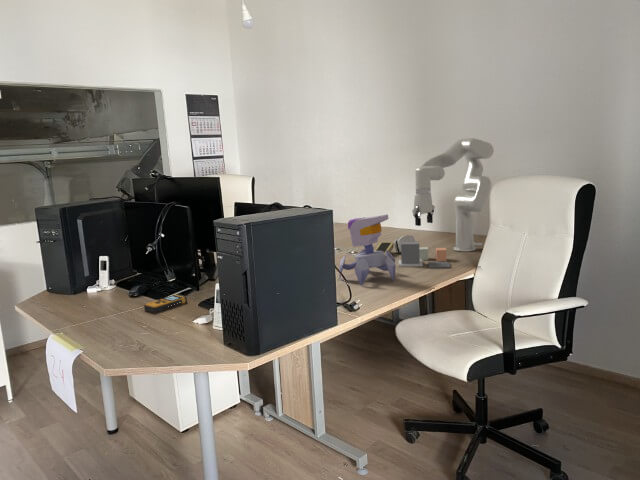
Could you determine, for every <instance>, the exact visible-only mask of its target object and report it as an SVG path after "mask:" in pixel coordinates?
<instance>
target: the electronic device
mask: <svg viewBox="0 0 640 480" xmlns="http://www.w3.org/2000/svg"><path fill="white" fill-rule="evenodd" d="M185 300H186V301H185ZM187 300H188V299H187V296H185V295H182V294H178V293H176V294H173V295H169V296H166V297H163V298H160V299H156V300H153V301H150V302H148V303H147V302H146V303H145V304H144V305H143V308H144V311H146V312H149V313H153V314H158V313H161V312H163V311H167V310H169V309H172V308H175V307H178V306H182V305H184V304H187V303H188V301H187ZM182 301H183V302H182ZM179 302H181V303H179ZM177 303H178V304H177ZM174 304H175V305H174ZM171 305H172V306H171ZM168 306H169V307H168Z"/></svg>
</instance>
